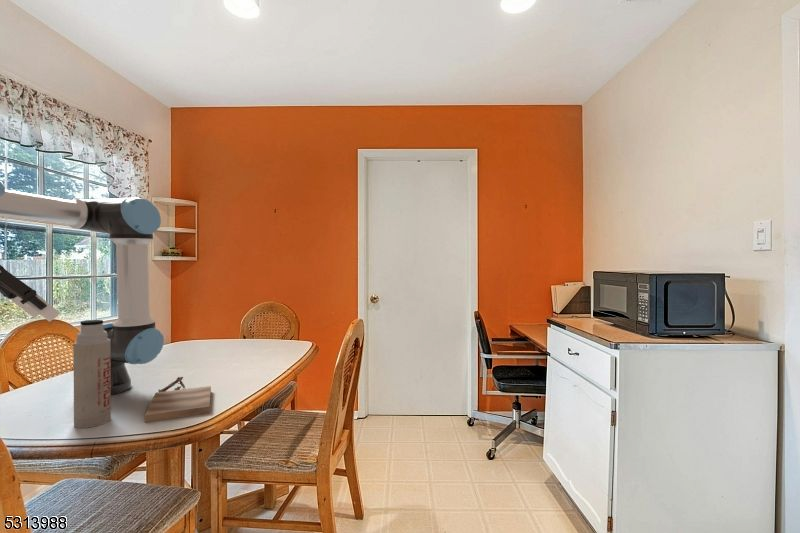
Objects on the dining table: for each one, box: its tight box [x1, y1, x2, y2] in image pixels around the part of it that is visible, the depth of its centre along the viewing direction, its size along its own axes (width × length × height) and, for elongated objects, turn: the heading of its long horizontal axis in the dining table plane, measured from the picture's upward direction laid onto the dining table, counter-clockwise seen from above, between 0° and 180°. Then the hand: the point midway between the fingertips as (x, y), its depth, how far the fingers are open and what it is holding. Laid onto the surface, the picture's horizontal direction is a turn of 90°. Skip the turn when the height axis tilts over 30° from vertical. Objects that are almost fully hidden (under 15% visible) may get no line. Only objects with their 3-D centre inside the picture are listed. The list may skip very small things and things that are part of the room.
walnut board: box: [144, 385, 212, 423], centre depth 120 cm, size 20×16×2 cm
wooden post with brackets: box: [157, 376, 186, 392], centre depth 132 cm, size 2×8×4 cm, turn 144°
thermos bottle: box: [72, 319, 112, 429], centre depth 107 cm, size 8×8×28 cm
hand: (47, 315), depth 98 cm, fingers open, 13 cm apart
